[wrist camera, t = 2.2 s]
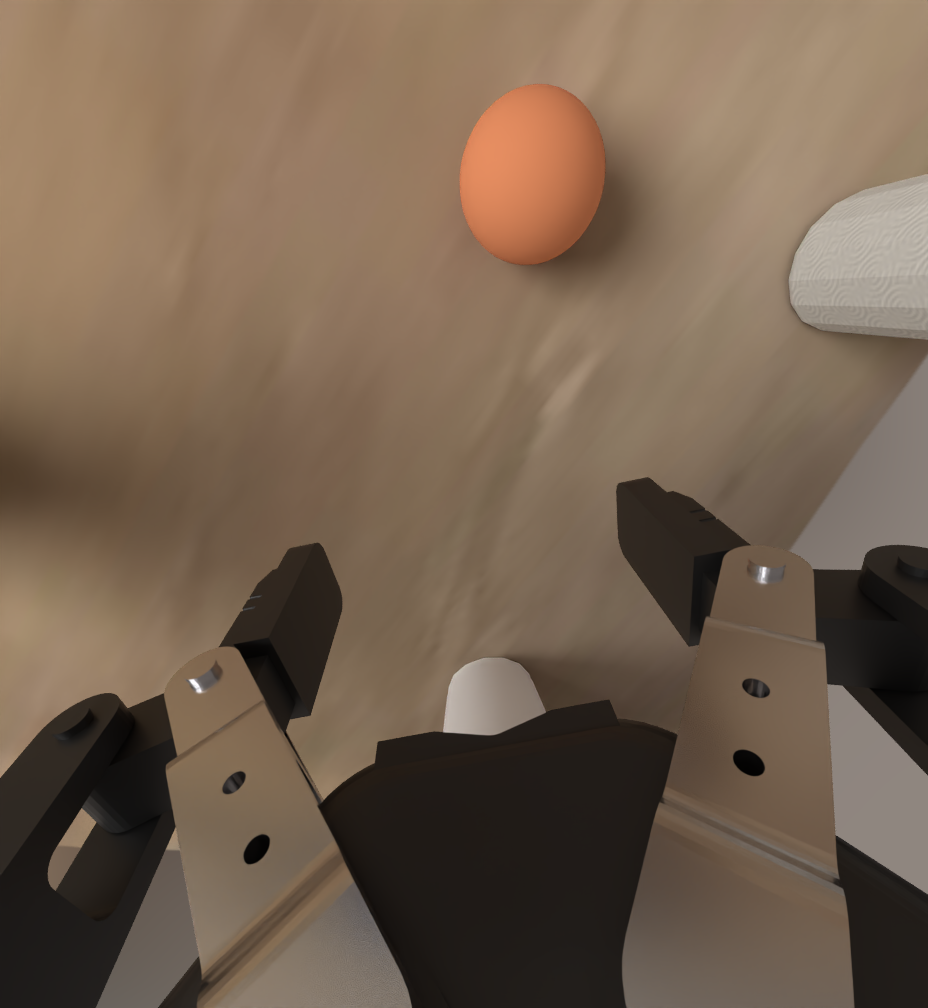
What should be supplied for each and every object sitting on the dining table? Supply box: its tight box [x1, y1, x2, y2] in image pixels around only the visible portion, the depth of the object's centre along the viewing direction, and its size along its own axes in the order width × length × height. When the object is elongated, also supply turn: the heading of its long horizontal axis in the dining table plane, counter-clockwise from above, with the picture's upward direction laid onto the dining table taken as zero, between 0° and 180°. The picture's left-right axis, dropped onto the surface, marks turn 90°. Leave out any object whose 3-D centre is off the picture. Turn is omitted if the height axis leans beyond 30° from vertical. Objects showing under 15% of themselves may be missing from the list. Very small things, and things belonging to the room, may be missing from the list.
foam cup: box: [443, 658, 546, 735], centre depth 26 cm, size 10×9×13 cm
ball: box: [460, 84, 605, 265], centre depth 17 cm, size 6×6×6 cm
